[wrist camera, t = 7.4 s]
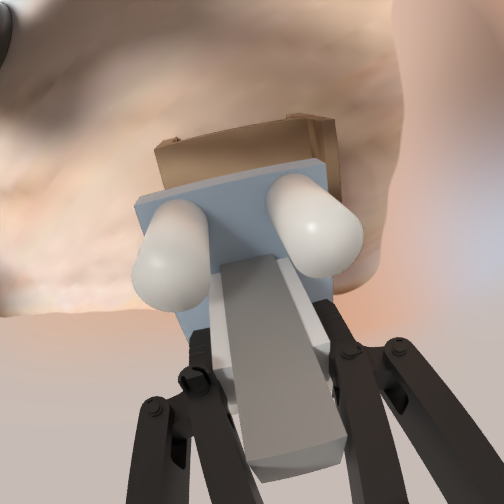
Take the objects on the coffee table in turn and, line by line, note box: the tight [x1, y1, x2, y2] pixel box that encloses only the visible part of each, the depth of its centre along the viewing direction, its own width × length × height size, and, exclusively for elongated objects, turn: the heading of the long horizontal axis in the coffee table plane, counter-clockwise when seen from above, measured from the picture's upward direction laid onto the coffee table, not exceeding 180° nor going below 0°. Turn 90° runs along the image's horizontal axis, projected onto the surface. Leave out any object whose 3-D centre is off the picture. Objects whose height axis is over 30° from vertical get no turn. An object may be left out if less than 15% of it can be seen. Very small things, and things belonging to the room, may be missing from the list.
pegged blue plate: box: [131, 158, 364, 483], centre depth 13 cm, size 12×10×12 cm
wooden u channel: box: [154, 113, 342, 204], centre depth 29 cm, size 14×15×10 cm
